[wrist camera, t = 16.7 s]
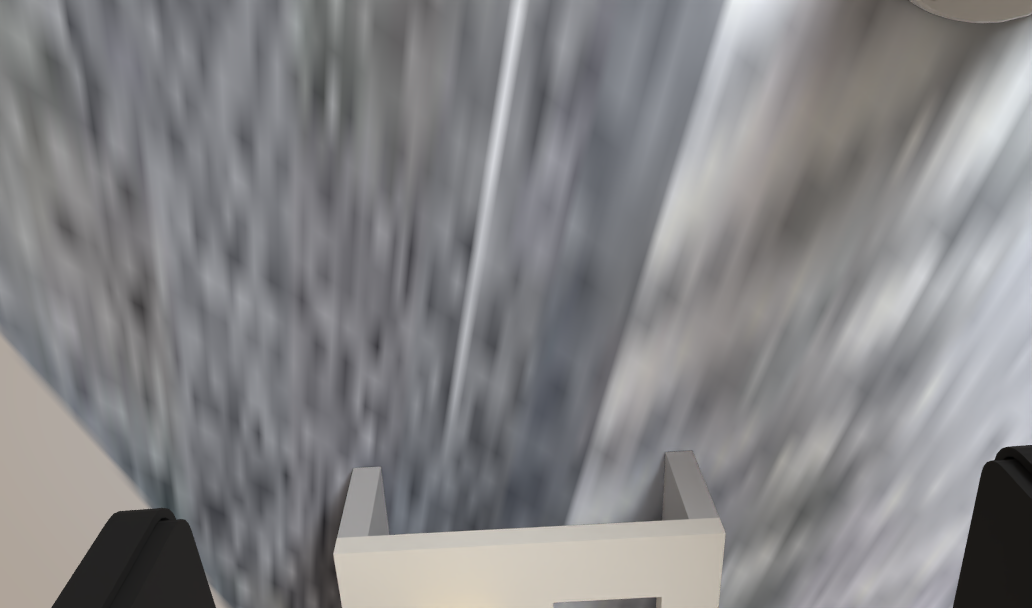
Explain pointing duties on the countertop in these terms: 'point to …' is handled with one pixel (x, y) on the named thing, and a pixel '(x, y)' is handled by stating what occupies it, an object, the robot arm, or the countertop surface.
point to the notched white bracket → (534, 555)
